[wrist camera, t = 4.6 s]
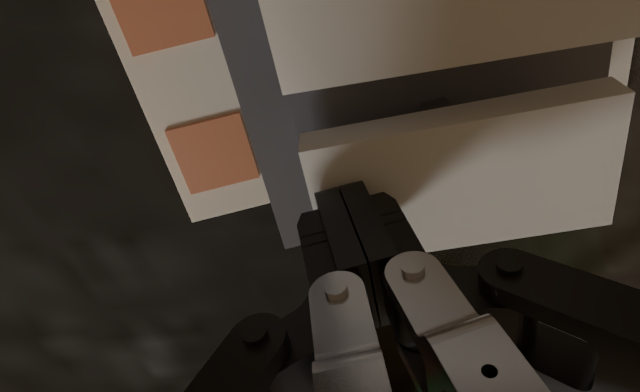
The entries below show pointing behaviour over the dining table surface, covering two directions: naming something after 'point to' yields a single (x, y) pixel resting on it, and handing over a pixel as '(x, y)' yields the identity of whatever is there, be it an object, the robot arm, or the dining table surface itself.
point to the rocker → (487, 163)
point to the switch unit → (284, 99)
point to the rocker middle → (427, 35)
